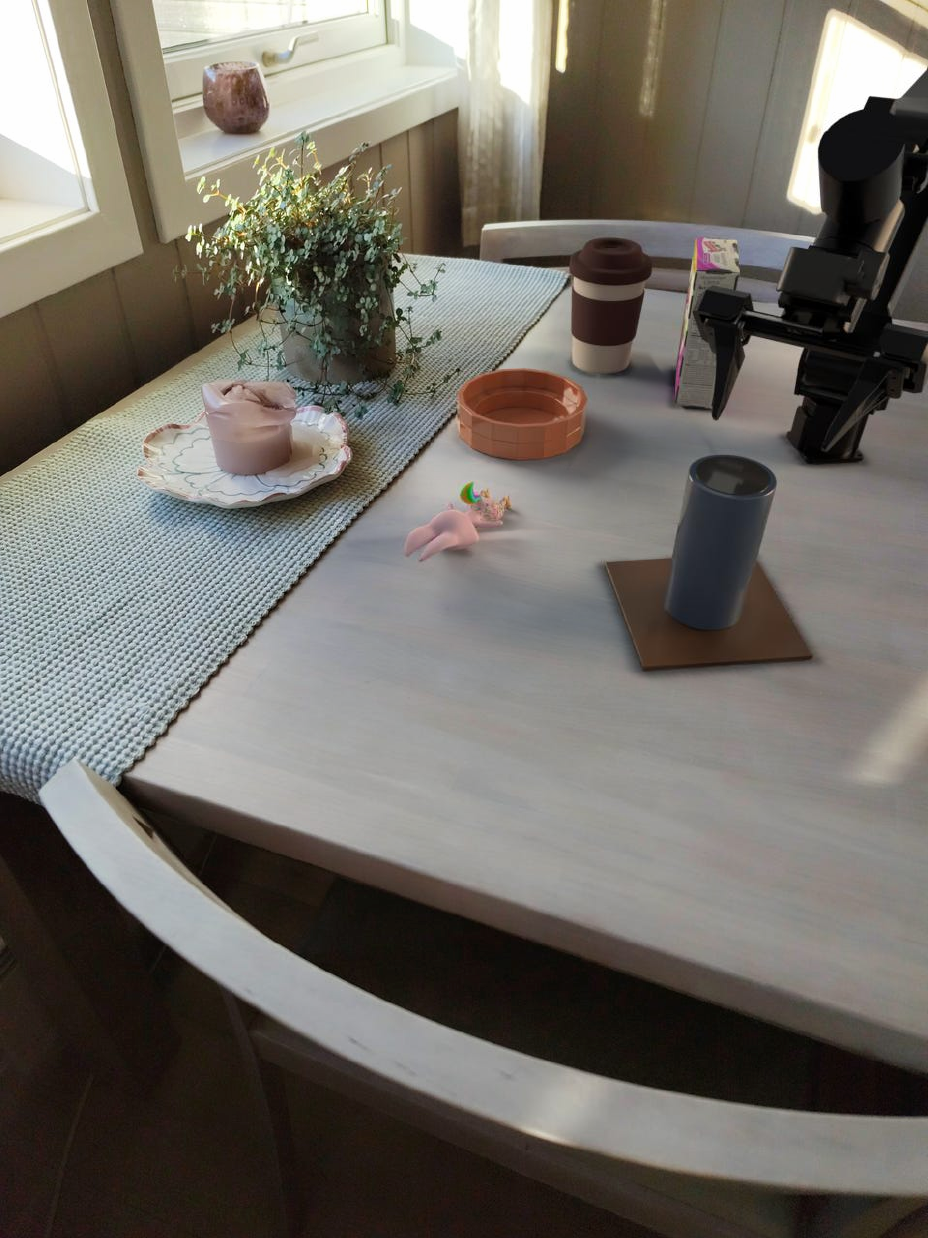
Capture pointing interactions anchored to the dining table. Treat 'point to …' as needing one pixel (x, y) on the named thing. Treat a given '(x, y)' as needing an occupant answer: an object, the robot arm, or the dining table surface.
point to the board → (676, 645)
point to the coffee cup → (607, 302)
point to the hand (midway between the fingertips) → (767, 433)
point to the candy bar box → (695, 357)
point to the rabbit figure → (457, 524)
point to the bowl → (521, 413)
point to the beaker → (718, 540)
